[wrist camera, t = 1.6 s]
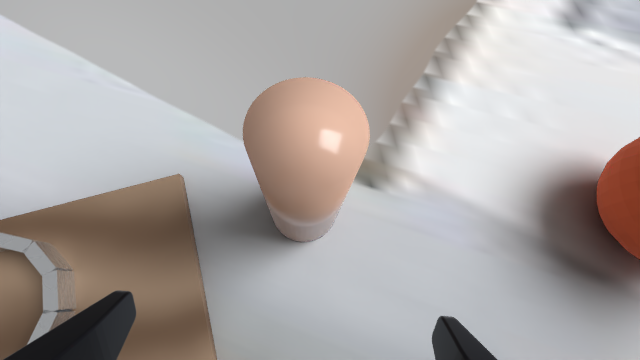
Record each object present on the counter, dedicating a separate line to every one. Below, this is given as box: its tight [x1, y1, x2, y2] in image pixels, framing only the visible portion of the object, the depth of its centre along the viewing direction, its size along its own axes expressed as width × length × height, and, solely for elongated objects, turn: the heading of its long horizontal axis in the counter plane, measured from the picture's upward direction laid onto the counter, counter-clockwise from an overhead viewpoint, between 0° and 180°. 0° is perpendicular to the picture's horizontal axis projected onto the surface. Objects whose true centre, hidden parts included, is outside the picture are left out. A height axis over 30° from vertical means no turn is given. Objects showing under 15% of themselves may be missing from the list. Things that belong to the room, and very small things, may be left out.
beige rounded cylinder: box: [243, 77, 370, 242], centre depth 17 cm, size 5×5×12 cm
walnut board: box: [0, 174, 217, 360], centre depth 19 cm, size 18×18×1 cm
